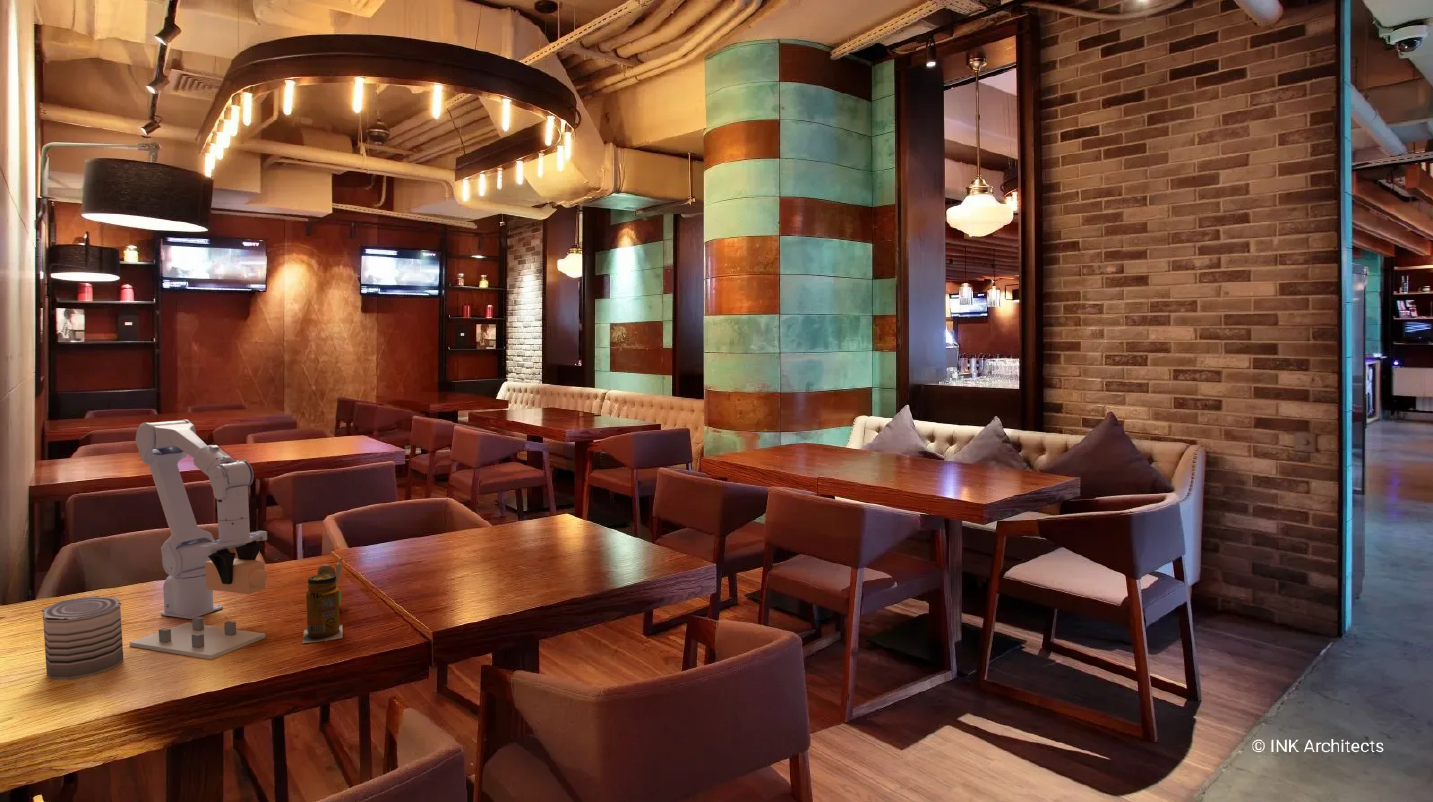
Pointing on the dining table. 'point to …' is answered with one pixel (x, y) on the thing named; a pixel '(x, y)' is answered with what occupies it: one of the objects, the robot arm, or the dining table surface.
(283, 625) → the dining table surface
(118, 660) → the can
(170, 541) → the robot arm
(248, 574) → the block
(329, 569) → the snail figurine
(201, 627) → the cradle jig
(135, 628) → the dining table surface
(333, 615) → the condiment
